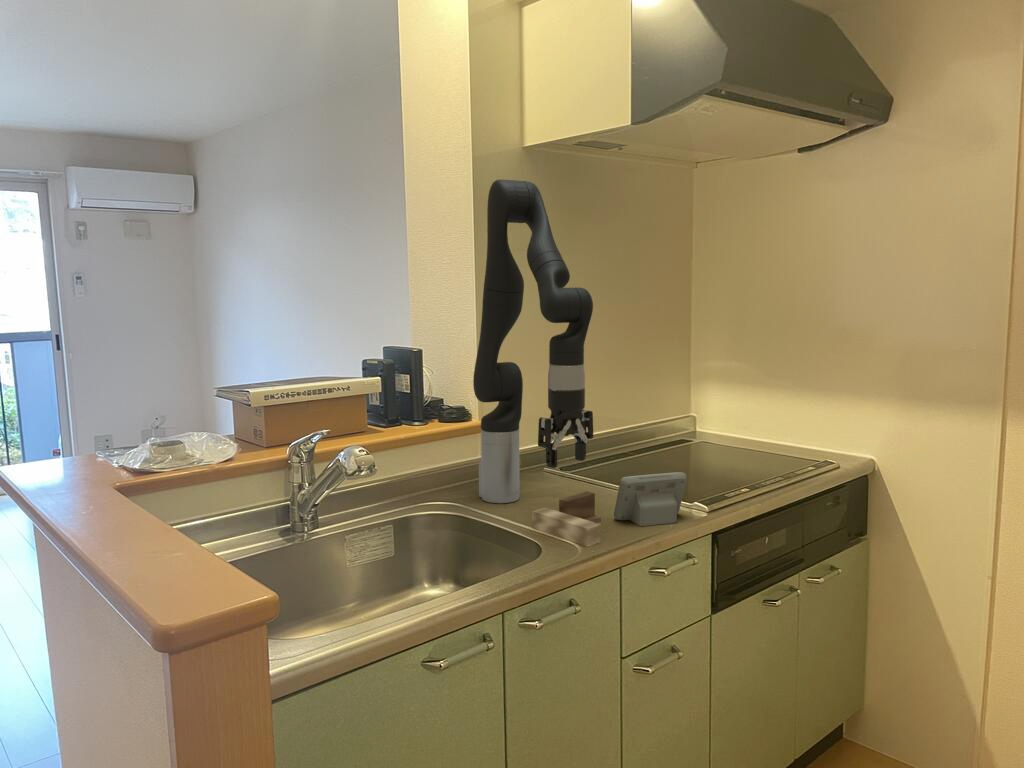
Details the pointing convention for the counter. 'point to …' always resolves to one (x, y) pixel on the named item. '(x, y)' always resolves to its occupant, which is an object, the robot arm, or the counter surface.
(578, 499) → the walnut ridge
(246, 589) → the counter surface
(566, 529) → the beige long bar
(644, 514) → the digital clock
